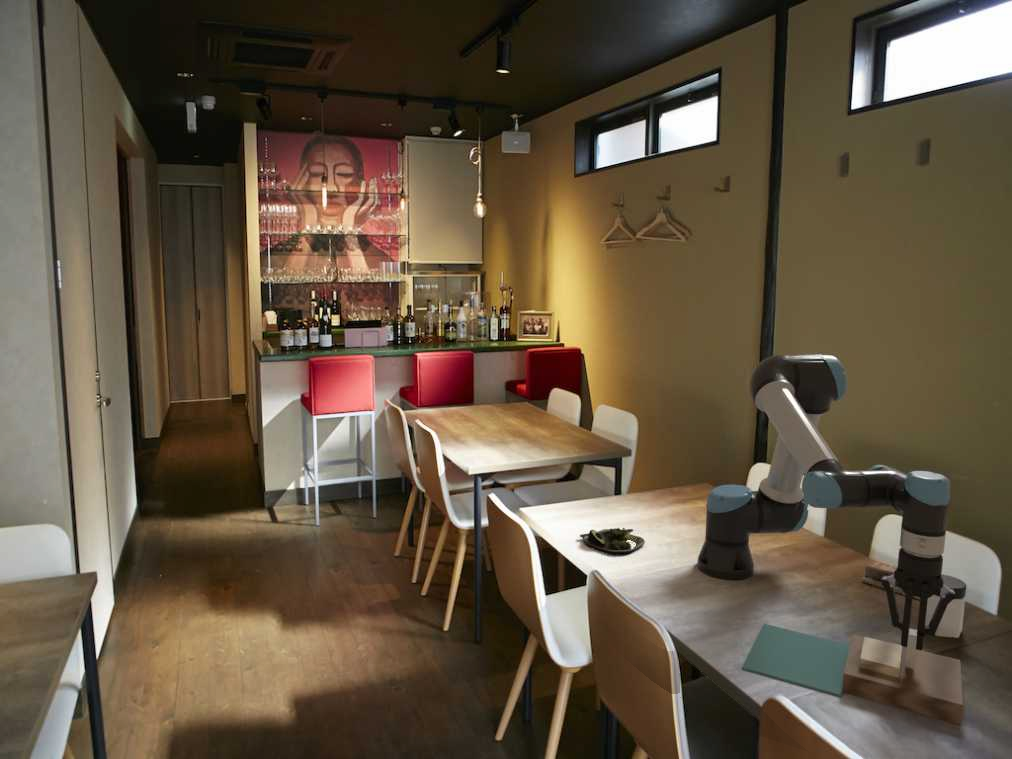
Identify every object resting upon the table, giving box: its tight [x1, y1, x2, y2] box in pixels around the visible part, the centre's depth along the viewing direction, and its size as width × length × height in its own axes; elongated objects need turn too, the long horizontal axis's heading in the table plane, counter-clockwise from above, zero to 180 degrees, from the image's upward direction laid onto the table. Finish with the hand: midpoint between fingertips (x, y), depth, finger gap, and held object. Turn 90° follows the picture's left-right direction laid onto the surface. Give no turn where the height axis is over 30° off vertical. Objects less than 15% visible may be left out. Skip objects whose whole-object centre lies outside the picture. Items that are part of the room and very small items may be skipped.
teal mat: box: [741, 623, 850, 697], centre depth 154 cm, size 19×22×1 cm
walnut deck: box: [842, 634, 964, 726], centre depth 144 cm, size 20×18×4 cm
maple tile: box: [860, 636, 902, 678], centre depth 145 cm, size 7×10×2 cm
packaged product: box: [861, 560, 920, 600], centre depth 189 cm, size 18×5×10 cm
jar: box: [925, 573, 967, 639], centre depth 166 cm, size 9×8×12 cm
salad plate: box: [579, 527, 646, 556], centre depth 219 cm, size 19×18×5 cm
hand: (909, 662), depth 143 cm, fingers closed
